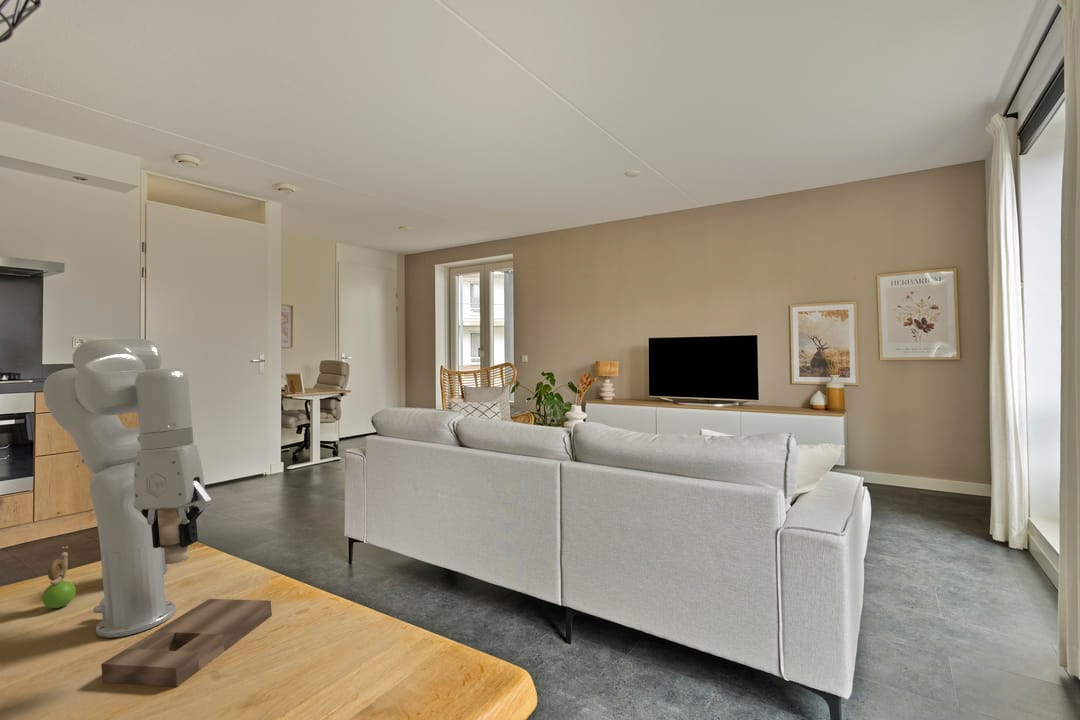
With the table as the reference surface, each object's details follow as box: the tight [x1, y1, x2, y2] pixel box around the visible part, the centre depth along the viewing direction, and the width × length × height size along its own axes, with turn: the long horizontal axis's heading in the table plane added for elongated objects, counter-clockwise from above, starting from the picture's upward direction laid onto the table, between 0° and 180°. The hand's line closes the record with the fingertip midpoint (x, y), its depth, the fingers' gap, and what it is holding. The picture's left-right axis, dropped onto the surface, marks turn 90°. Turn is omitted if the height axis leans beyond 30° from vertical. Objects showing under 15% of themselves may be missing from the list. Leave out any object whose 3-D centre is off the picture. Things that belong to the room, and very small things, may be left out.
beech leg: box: [157, 507, 190, 565], centre depth 92 cm, size 4×4×10 cm
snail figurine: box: [41, 546, 77, 609], centre depth 115 cm, size 5×6×12 cm
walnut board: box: [100, 598, 273, 688], centre depth 95 cm, size 14×22×3 cm, turn 170°
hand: (175, 543), depth 92 cm, fingers closed on beech leg, 4 cm apart
